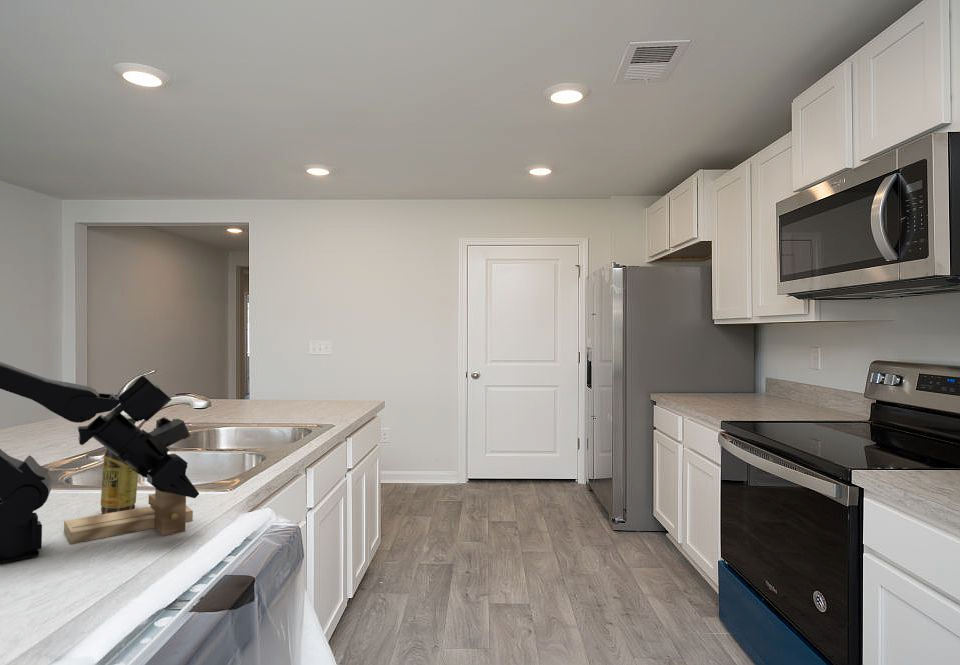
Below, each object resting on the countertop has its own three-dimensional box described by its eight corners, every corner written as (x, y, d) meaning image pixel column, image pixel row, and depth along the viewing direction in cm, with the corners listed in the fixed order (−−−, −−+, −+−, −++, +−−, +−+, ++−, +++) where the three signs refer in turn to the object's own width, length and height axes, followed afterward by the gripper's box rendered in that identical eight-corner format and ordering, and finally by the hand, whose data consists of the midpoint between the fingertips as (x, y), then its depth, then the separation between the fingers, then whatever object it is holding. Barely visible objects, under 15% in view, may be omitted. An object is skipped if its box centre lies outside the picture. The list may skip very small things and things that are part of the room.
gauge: (162, 537, 105) (163, 482, 105) (142, 516, 116) (143, 467, 116) (186, 532, 108) (187, 479, 108) (163, 512, 119) (165, 464, 119)
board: (70, 543, 101) (70, 532, 101) (63, 531, 106) (64, 520, 106) (192, 520, 114) (192, 510, 114) (180, 510, 120) (180, 500, 120)
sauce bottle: (94, 512, 117) (98, 415, 117) (125, 505, 122) (130, 412, 122) (110, 519, 114) (115, 419, 114) (142, 511, 119) (147, 416, 119)
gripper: (175, 412, 100) (238, 466, 108) (148, 401, 114) (205, 449, 122) (122, 463, 95) (192, 516, 103) (100, 444, 109) (163, 492, 116)
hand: (189, 490), depth 111 cm, fingers open, 9 cm apart
